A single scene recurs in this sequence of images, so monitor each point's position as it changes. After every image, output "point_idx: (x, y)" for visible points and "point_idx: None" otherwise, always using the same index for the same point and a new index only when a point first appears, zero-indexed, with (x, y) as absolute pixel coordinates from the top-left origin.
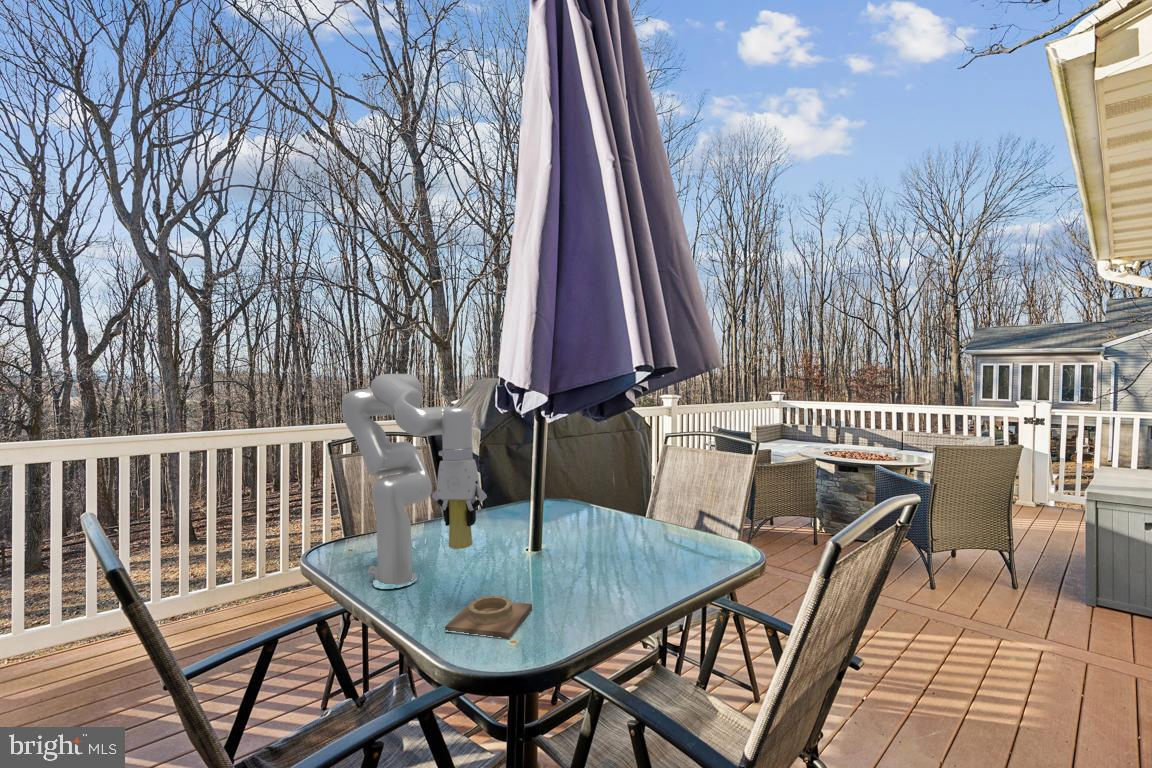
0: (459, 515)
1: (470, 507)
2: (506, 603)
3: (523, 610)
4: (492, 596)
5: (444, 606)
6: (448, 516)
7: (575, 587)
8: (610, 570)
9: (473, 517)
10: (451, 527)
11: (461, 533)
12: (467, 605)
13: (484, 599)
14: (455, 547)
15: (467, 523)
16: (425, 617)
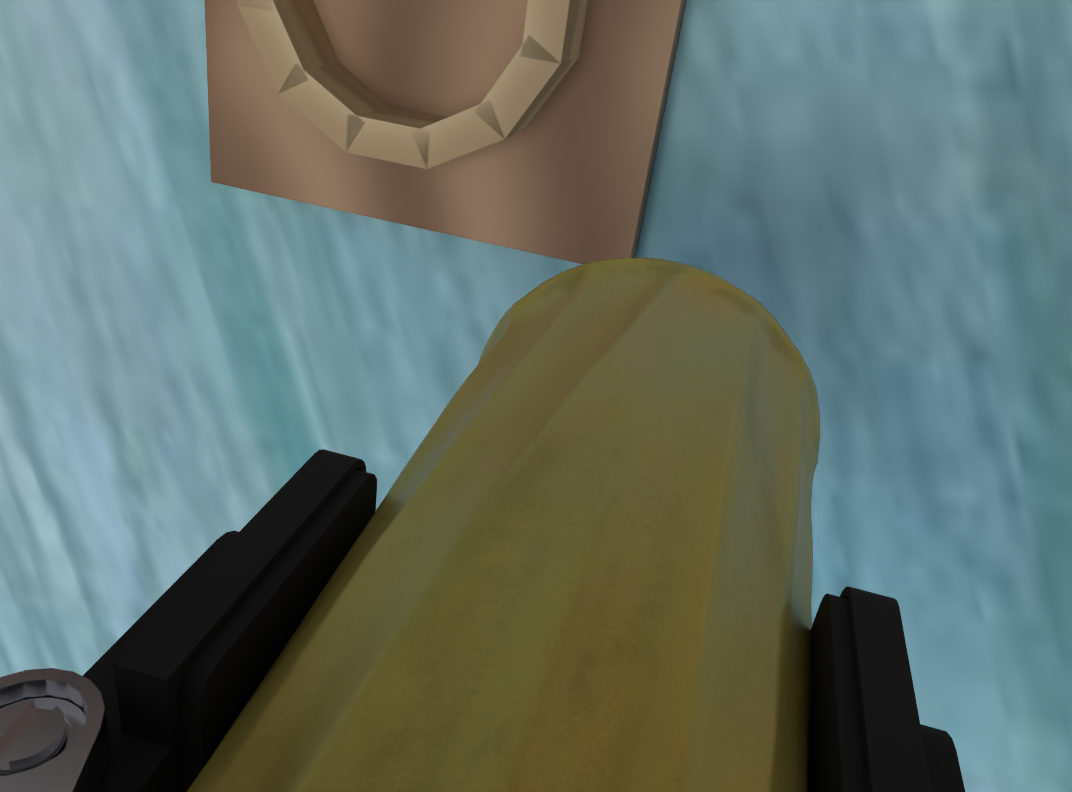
0: (418, 590)
1: (8, 765)
2: (293, 35)
3: (228, 70)
4: (428, 153)
5: (865, 236)
6: (825, 766)
7: (110, 478)
8: (25, 661)
9: (175, 594)
10: (714, 461)
11: (518, 365)
12: (650, 151)
13: (479, 104)
14: (668, 263)
15: (346, 494)
16: (993, 18)
